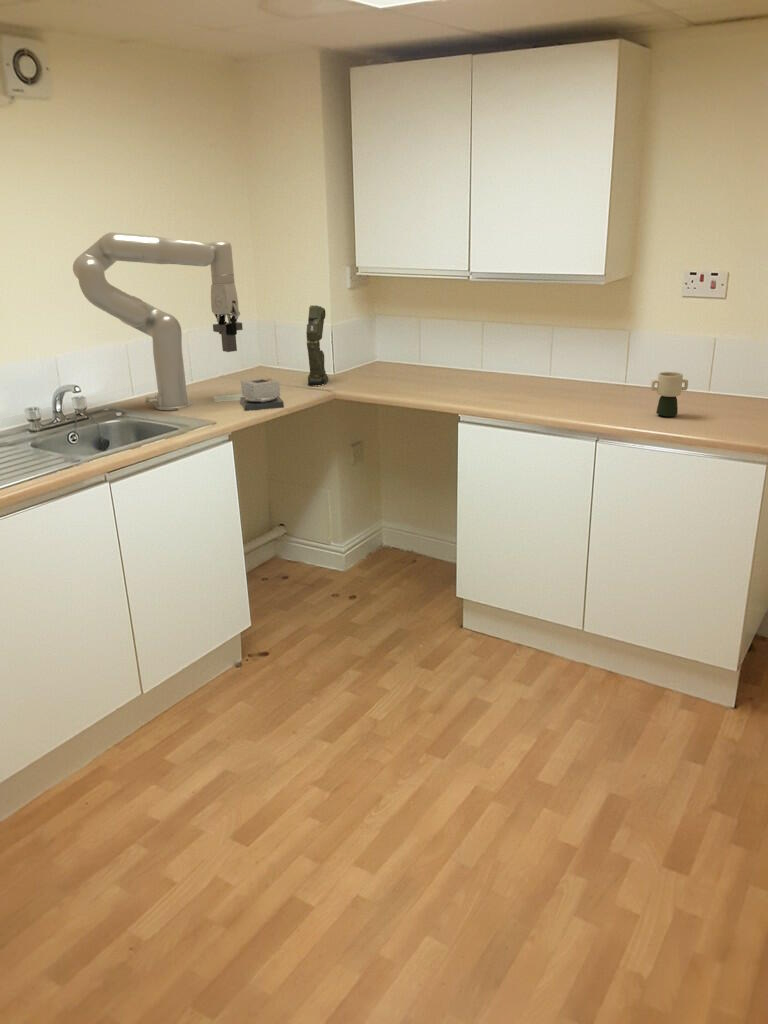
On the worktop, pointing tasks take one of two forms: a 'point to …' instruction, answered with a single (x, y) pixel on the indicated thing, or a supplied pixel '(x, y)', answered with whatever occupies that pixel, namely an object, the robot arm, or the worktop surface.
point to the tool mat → (227, 397)
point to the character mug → (668, 392)
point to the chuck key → (227, 336)
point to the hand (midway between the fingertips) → (228, 333)
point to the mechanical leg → (316, 346)
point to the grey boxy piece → (260, 389)
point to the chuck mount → (262, 404)
